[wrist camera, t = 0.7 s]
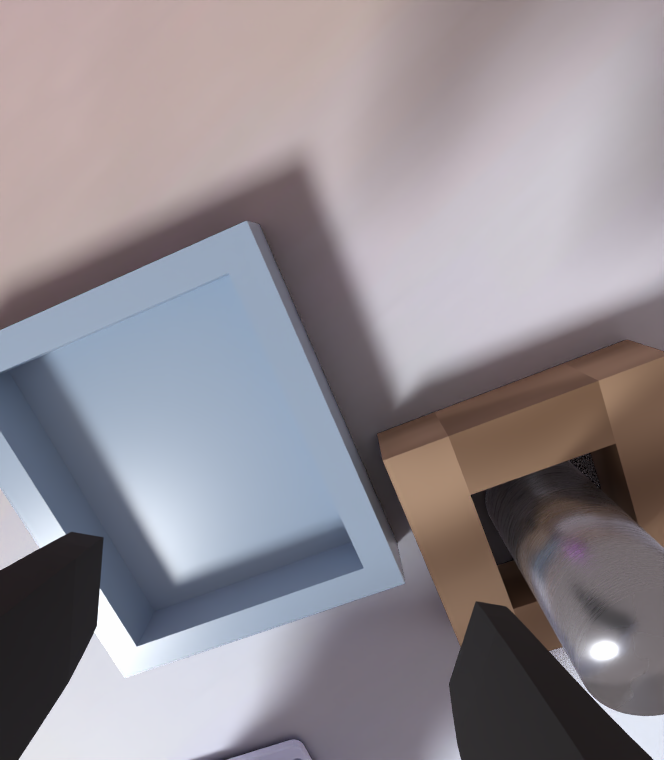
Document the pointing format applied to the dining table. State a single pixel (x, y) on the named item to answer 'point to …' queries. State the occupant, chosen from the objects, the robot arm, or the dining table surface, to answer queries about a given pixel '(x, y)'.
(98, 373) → the tray
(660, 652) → the pin
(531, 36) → the dining table surface
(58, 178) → the dining table surface
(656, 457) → the socket block
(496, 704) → the robot arm
